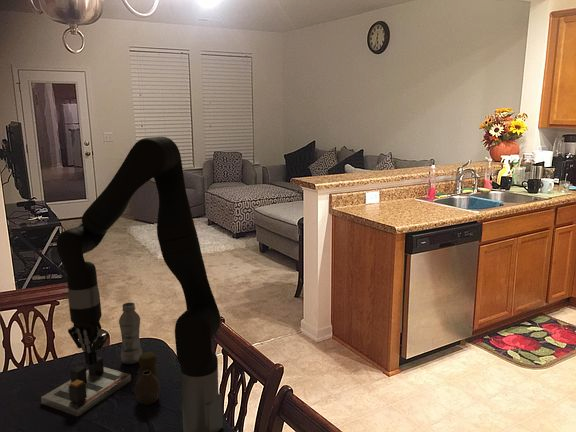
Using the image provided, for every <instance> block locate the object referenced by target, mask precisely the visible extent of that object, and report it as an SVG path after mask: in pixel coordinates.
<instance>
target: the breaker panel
mask: <svg viewBox="0 0 576 432" xmlns="http://www.w3.org/2000/svg"><path fill="white" fill-rule="evenodd" d="M87 368H88V369H87ZM87 368H86V367H85V366H81V365H77V366H75V367H73V368H71V369H70V370H69V372H70V373H69V374H70V379H69V380H68V381H67V382H64V383H63V384H62V385H59V386H58V387H56V388H55V389H53V390H51V391H49V392H47V393H46V394H44V395H42V396H41V397H40V398H41V404H42V405H43V406H44V405H45V406H47V407H50V408H53V409H56V410H59V411H62V412H63V413H67V414H69V415H72V416H74V417H79V416H81V415H83V414H84V413H86V412H87V411H88V410H90V409H91V408H93V407H94V406H96V405H98V404H99V403H100V402H102V401H104V400H105V399H106V398H108V397H109V396H110V395H112V394H114V393H115V392H116V391H118V390H119V389H122V388H123V387H124V386H125V385H127V384H128V383H130V382H131V381H132V375H131V374H130V373H126V372H124V371H119V370H117V369H113V368H112V369H111V368H109V367H106V366H104V359H103V357H100V356H98V355H97V361H96V363H95V364H93V365H88V367H87ZM75 380H81V381H84V383H85V384H86V396H87V398H85V399H84V400H82V401H80V402H79V403H76V402H73V401H70V395H69V385H70V383H72V382H74V381H75Z"/></svg>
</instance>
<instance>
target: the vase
mask: <svg viewBox="0 0 576 432" xmlns="http://www.w3.org/2000/svg"><path fill="white" fill-rule="evenodd" d="M134 392H135V393H134V394H135V398H136V400H137V401H138V402H139V403H140V404H142V405H145V406H146V405H151V404H154V403H156V402H157V400H158V398H159V397H160V394H161V383H160V380H159V378H158V379H157V378H156V377H155V376H154V375H153V374H152V372H151V371H144V372H143V373H142V375H141V377H140V376H139V378H138V379H137V381H136V382H135V387H134Z"/></svg>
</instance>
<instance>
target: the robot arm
mask: <svg viewBox="0 0 576 432" xmlns="http://www.w3.org/2000/svg"><path fill="white" fill-rule="evenodd" d="M183 169H184V168H183V162H182V156H181V152H180V150H179V147H178V146H177V144H176V142H175V141H173V140H172V139H171V138H169V137H167V136H153V137H150V136H149V137H143V138H141V139H139V140H137V142H135V143H134V144H133V146H132V147H131V149H130V150H129V152H128V153H127V155H126V157H125V159H124V161H122V163H121V165H120V167H119V168H118V170H117V172H116V173H115V174H114V176H113V177H112V179H111V181H110V182H109V183H108V185H106V187H105V189H104V190H103V191H102V192H100V194H99V195H98V197H97V198H96V199H94V201H93V202H92V203H91V204H90V206H88V208H87V209H86V210H85V211H84V213H83V214H82V216H81V224H79V225H78V226H75V227H72V228H69V229H66V230H63V231H62V232H61V233H59V235H58V236H57V239H56V251H57V254H58V257H59V258H60V261H61V263H62V267H63V268H64V270H65V272H66V279H67V280H66V281H67V299H68V308H69V316H70V321H71V323H72V324H73V325H72V327H70V328H68V329H67V333H68V334H69V336H70V338H71V339H72V340H73V342H74V344H75V345H76V347H77V349H81V350H82V352H84V353H83V354H84V360H85V363H86V365H93V364H95V363H96V361H97V356H98V355H97V351H99V350H101V349H102V348H103V346H104V345H105V343H107V342H106V341H107V339H108V338H109V336H110V334H109V332H104V331H103V330H102V325H101V323H100V320H101V318H102V316H103V314H102V306H101V296H100V289H99V285H98V277H97V269H96V265H95V264H94V263H93V262H91V261H85V258H84V254H87V253H89V252H92V251H93V250H95V248H97V246H99V244H100V243H101V242H102V240H103V239H104V237H105V235H106V234H107V231H108V230H109V229H110V228H111V227H112V226H113V225H114V224H115V223H116V222H117V221H118V219H120V218H121V216H122V215H123V214H124V213H125V211H126V210H127V207H128V205H129V203H130V201H131V199H132V197H133V196H134V194H135V193H136V192H137V191H138V190H139V189H140V188H141V187H142V186H144V185H145V184H146V183H147V182H149V181H150V180H151V179H153V178H154V182H155V183H154V184H155V185H156V190H157V194H158V209H157V211H158V213H157V219H156V220H157V222H156V236H157V241H158V244H159V249H160V253H161V256H162V259H163V261H164V263H165V265H166V266H167V268H168V269H169V270H170V272H171V273H172V274H173V276H174V277H175V278H176V280H177V281H178V282H179V285H180V286H181V289H182V291H183V296H184V300H185V301H184V302H185V306H186V310H185V311H184V312H183V313H182V314H181V315H180V316H179V317H178V318H177V320H176V323H175V326H174V340H175V342H174V343H175V349H176V351H175V352H176V353H175V354H176V358H177V361H178V363H179V365H180V387H181V407H182V408H181V409H182V412H181V413H182V431H183V432H220V430H221V429H222V428H223V427H224V425H223V423H224V422H223V417H224V416H223V395H222V393H221V392H219V362H218V361H219V359H218V355H217V354H216V353H215V352H214V351H213V350H212V338H213V337H214V336H215V335H216V333H217V332H218V331H219V328H220V326H221V322H222V321H221V314H220V310H219V307H218V305H217V302H216V299H215V296H214V293H213V291H212V288H211V285H210V281H209V279H208V274H207V270H206V266H205V262H204V258H203V254H202V250H201V244H200V241H199V236H198V232H197V228H196V226H195V223H194V217H193V214H192V209H191V205H190V202H189V198H188V194H187V190H186V183H185V176H184V170H183Z"/></svg>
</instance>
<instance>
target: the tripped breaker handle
mask: <svg viewBox="0 0 576 432" xmlns="http://www.w3.org/2000/svg"><path fill="white" fill-rule="evenodd" d="M69 395H70V401H73V402H76V403H79V402H80V401H82V400H84V399H85V398H87V396H86V384H85V383H84V381H81V380H75V381H74V382H72V383H70V385H69Z"/></svg>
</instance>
